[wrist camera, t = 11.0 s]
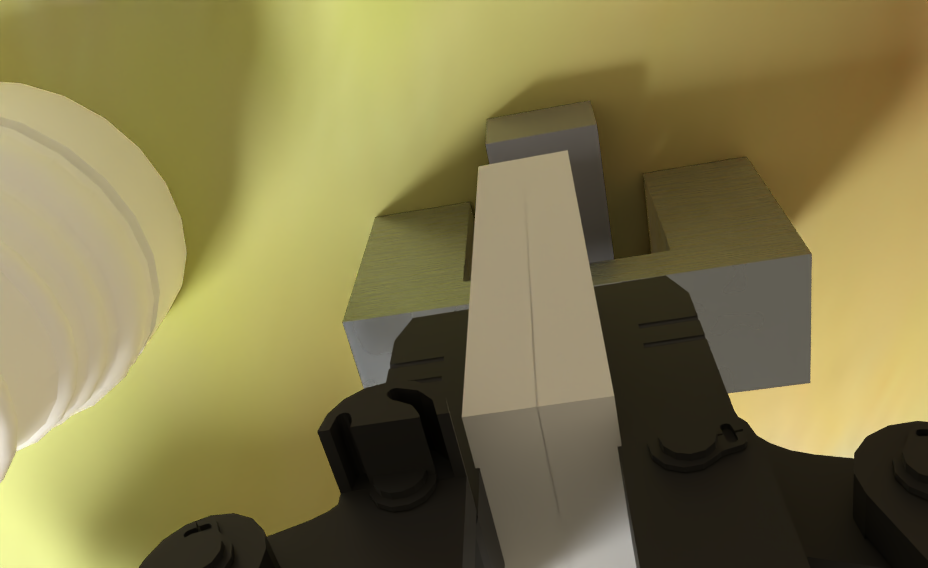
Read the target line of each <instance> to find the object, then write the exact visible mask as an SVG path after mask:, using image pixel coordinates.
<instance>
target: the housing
mask: <svg viewBox="0 0 928 568" xmlns="http://www.w3.org/2000/svg"><path fill="white" fill-rule="evenodd" d="M643 178H644V188H645V198H646V208H647V218H648V229H649V239H650V249H651V254H645V255H639V256H632V257H625V258H619V259H612V260H605V261H599V262H592V263H589V266H590V271H591V276H592V281H593V287H595V286H602V285H608V284H614V283H621V282H627V281H633V280H640V279H646V278H652V277H658V276H665V275H666V276H667V277H669V278H670V279H671V280H673V281H674V282H675V283H677V284H678V285H679V286H681V287H682V288H683V289H685V290H686V291H688V292H689V294H690V297H691V299H692V302H693V305H694V307H695V310H696V312H697V315H698V320H700V323H701V325H702V328H703V331H704V333H705V338H706V339H707V341H708V344H709V346H710V349H711V351H712V354H713V357H714V359H715V362H716V365H717V367H718V370H719V372H720V375H721V378H722V380H723V383H724V385H725V388H726V391H727V393H734V392H742V391H750V390H758V389H766V388H774V387H782V386H789V385H797V384H805V383H810V360H811V268H812V254H811V252H810V251H809V249H808V248H807V246H806V245H805V243H804V242H803V240H802V239H801V237H800V236H799V234H798V233H797V231H796V230H795V228H794V227H793V225H792V224H791V222H790V221H789V219H788V218H787V216H786V215H785V213H784V212H783V210H782V209H781V207H780V206H779V204H778V203H777V201H776V200H775V198H774V197H773V195H772V194H771V192H770V191H769V189H768V188H767V186H766V185H765V183H764V182H763V180H762V179H761V177H760V176H759V174H758V173H757V171H756V170H755V169H754V167H753V166H752V164H751V163H750V161H749V160H748V158H747V157H742V158H735V159H729V160H723V161H717V162H711V163H705V164H699V165H693V166H686V167H680V168H674V169H668V170H662V171H656V172H650V173H644V174H643ZM474 226H475V223H474V218H473V213H472V209H471V204H470V202H466V203H460V204H454V205H448V206H442V207H436V208H430V209H423V210H417V211H411V212H405V213H399V214H393V215H387V216H381V217H375V221H374V224H373V227H372V230H371V233H370V236H369V240H368V243H367V246H366V249H365V252H364V256H363V259H362V262H361V265H360V268H359V271H358V275H357V278H356V281H355V284H354V287H353V291H352V294H351V297H350V300H349V303H348V307H347V310H346V313H345V316H344V319H343V326H344V329H345V332H346V335H347V338H348V341H349V344H350V347H351V350H352V353H353V357H354V360H355V363H356V366H357V369H358V372H359V375H360V378H361V381H362V384H363V387H364V389H365V388H368V387H371V386H375V385H379V384H383V383H386V380H387V375H388V370H389V369H390V360H391V355H392V350H393V345H394V341H395V339H396V338H397V337H398V336H399V334H400V333H401V332H402V331H403V329H404V328H405V327H406V326H407V325H408V323H409V322H410V321H411V320H412V318H416V317H422V316H428V315H435V314H441V313H447V312H454V311H460V310H466V309H469V301H470V286H471V271H472V256H473V241H474Z"/></svg>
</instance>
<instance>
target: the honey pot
mask: <svg viewBox="0 0 928 568" xmlns="http://www.w3.org/2000/svg"><path fill="white" fill-rule="evenodd" d="M186 257H187V251H186V244H185V238H184V231H183V225H182V218H181V216H180V214H179V212H178V209H177V207H176V205H175V203H174V200H173V198H172V196H171V193H170V191H169V189H168V187H167V184H166V182H165V181H164V180H163V178H162V177H161V176H160V174H159V173H158V172H157V170H156V169H155V168H154V166H153V165H152V164H151V162H150V161H149V160H148V158H147V157H146V156H145V155H144V153H143V152H142V151H141V149H140V148H139V147H138V146H137V145H135V144H134V143H133V142H132V141H131V140H130V139H129V138H127V137H126V136H125V135H124V134H123V133H122V132H120V131H119V130H118V129H117V128H116V127H115V126H113V125H112V124H111V123H110V122H109V121H108V120H106V119H105V118H104V117H102V116H100V115H98V114H96V113H95V112H93V111H91V110H89V109H87V108H85V107H84V106H82V105H80V104H78V103H76V102H75V101H73V100H71V99H69V98H67V97H65V96H63V95H60V94H57V93H53V92H50V91H46V90H43V89H40V88H36V87H33V86H29V85H26V84H23V83H13V82H0V482H1V481H3V479H4V477H5V475H6V473H7V471H8V468H9V466H10V464H11V462H12V460H13V457H14V455H15V453H16V451H18V450H20V449H23V448H25V447H27V446H29V445H32V444H34V443H36V442H38V441H39V440H40V439H41V438H42V437H43V436H45V435H46V434H47V433H48V432H49V431H50V430H51V429H52V428H53V427H56V426H58V425H60V424H62V423H64V422H65V421H66V420H67V419H68V418H69V417H70V416H72V415H74V414H76V413H78V412H81V411H83V410H85V409H87V408H89V407H92V406H94V405H95V404H96V403H97V402H98V401H99V400H101V399H102V398H103V397H104V396H105V395H106V394H107V393H108V392H109V391H110V390H112V389H113V388H114V387H115V386H116V385H117V384H118V383H119V382H120V381H121V380H122V379H124V378H125V377H126V375H127V373H128V371H129V369H130V367H131V366H132V365H133V364H134V363H135V362H136V360H137V358H138V356H139V355H140V354H141V353H142V351H143V350H144V348H145V347H146V345H147V344H148V342H149V341H150V339H151V338H152V336H153V334H154V333H155V331H156V330H157V328H158V327H159V325H160V324H161V322H162V321H163V319H164V318H165V316H166V315H167V313H168V312H169V310H170V308H171V306H172V304H173V302H174V300H175V298H176V296H177V294H178V293H179V291H180V289H181V287H182V283H183V277H184V270H185V263H186Z"/></svg>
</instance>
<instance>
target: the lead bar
mask: <svg viewBox="0 0 928 568" xmlns="http://www.w3.org/2000/svg"><path fill="white" fill-rule="evenodd" d="M485 145H486V150H487V155H488V160H489V164H494V163H500V162H505V161H511V160H516V159H522V158H527V157H533V156H538V155H544V154H549V153H555V152H560V151H566V150H568V155H569V160H570V166H571V171H572V176H573V181H574V187H575V192H576V197H577V202H578V208H579V213H580V218H581V223H582V229H583V234H584V239H585V245H586V250H587V255H588V260H589V263H592V262H599V261H605V260H612V259H614V254H613V246H612V238H611V230H610V223H609V215H608V207H607V199H606V191H605V184H604V176H603V168H602V160H601V153H600V145H599V137H598V129H597V123H596V120H595V116H594V113H593V109H592V106H591V102H590V101H584V102H579V103H573V104H568V105H562V106H557V107H551V108H546V109H540V110H535V111H529V112H524V113H518V114H513V115H507V116H501V117H496V118H490V119H487V122H486V141H485Z"/></svg>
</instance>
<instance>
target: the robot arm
mask: <svg viewBox="0 0 928 568" xmlns="http://www.w3.org/2000/svg"><path fill="white" fill-rule="evenodd" d="M318 435H319V437H320V440H321V442H322V445H323V448H324V450H325V453H326V456H327V458H328V461H329V463H330V466H331V469H332V471H333V474H334V477H335V479H336V482H337V485H338V487H339V490H340V492H341V495H340V499H339V503H338V505H337V506H335V507H334V508H332V509H331V510H330V511H328V512H327V513H324V514H322V515H320V516H318V517H316V518H314V519H312V520H310V521H307V522H305V523H302V524H299V525H297V526H294V527H292V528H289V529H286V530H284V531H281V532H278V533H276V534H273V535H271V536H268V537H266V535H265V532H264V530H263V529H262V528H261V527H260V526H259V525H258V524H257V523H256V522H255V521H254V520H253V519H252V518H249V517H245V516H241V515H238V514H234V513H232V514H222V515H212V516H208V517H206V518H203V519H200V520H198V521H195V522H192V523H190V524H187V525H185V526H184V527H182V528H181V529H179V530H178V531H176V532H174V533H173V534H171V535H170V536H168V537H167V538H165V539H164V540H163V541H162V542H161V543H160V544H159V545H158V546H157V547H156V548H155V549H154V550H153V551H152V552H151V553H150V554H149V555H148V556H147V557H146V559H145V560H144V561H143V562H142V564H141V565H140V567H139V568H928V422H922V421H915V422H908V423H902V424H895V425H889V426H887V427H885V428H883V429H881V430H879V431H877V432H875V433H873V434H871V435H869V436H867V437H866V438H865V439H864V441H863V442H862V444H861V445H860V446H859V448H858V449H857V450H856V452H855V453H854V459H853V458H843V457H833V456H824V455H814V454H808V453H802V452H797V451H791V450H788V449H785V448H782V447H779V446H776V445H774V444H771V443H769V442H767V441H765V440H764V439H762V438H760V437H758V436H757V435H756V434H755V433H754V431H753V430H752V428H751V427H750V426H749V424H748V423H747V422H746V421H744V420H743V419H741V418H739V417H738V416H737V414H736V413H735V411H734V409H733V406H732V404H731V401H730V398H729V396H728V393H727V391H726V388H725V385H724V383H723V380H722V378H721V375H720V372H719V370H718V367H717V365H716V362H715V359H714V357H713V354H712V351H711V349H710V346H709V344H708V341H707V339H706V338H705V333H704V331H703V328H702V325H701V323H700V320H698V315H697V312H696V310H695V307H694V305H693V302H692V299H691V297H690V294H689V292H688V291H686V290H685V289H683V288H682V287H681V286H679V285H678V284H677V283H675V282H674V281H673V280H671V279H670V278H669V277H667V276H666V275H665V276H658V277H652V278H646V279H640V280H633V281H627V282H621V283H614V284H608V285H602V286H595V287H593V281H592V276H591V271H590V266H589V260H588V255H587V250H586V245H585V239H584V234H583V229H582V223H581V218H580V213H579V208H578V202H577V197H576V192H575V187H574V181H573V176H572V171H571V166H570V160H569V155H568V150H566V151H560V152H555V153H549V154H544V155H538V156H533V157H527V158H522V159H516V160H511V161H505V162H500V163H494V164H489V165H483V166H478V180H477V195H476V211H475V226H474V241H473V256H472V271H471V286H470V301H469V309H466V310H460V311H454V312H447V313H441V314H435V315H428V316H422V317H416V318H412V320H411V321H410V322H409V323H408V325H407V326H406V327H405V328H404V329H403V331H402V332H401V333H400V334H399V336H398V337H397V338H396V339H395V341H394V345H393V350H392V355H391V360H390V369H389V370H388V375H387V380H386V383H383V384H379V385H375V386H371V387H368V388H365V389H363V390H361V391H359V392H357V393H355V394H353V395H352V396H350V397H348V398H346V399H344V400H343V401H342V402H341V403H339V404H338V405H337V406H336V407H335V408H334V409H333V410H332V411H330V412H329V413H328V414H327V416H326V417H325V419H324V421H323V423H322V424H321V426H320V428H319V430H318Z"/></svg>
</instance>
